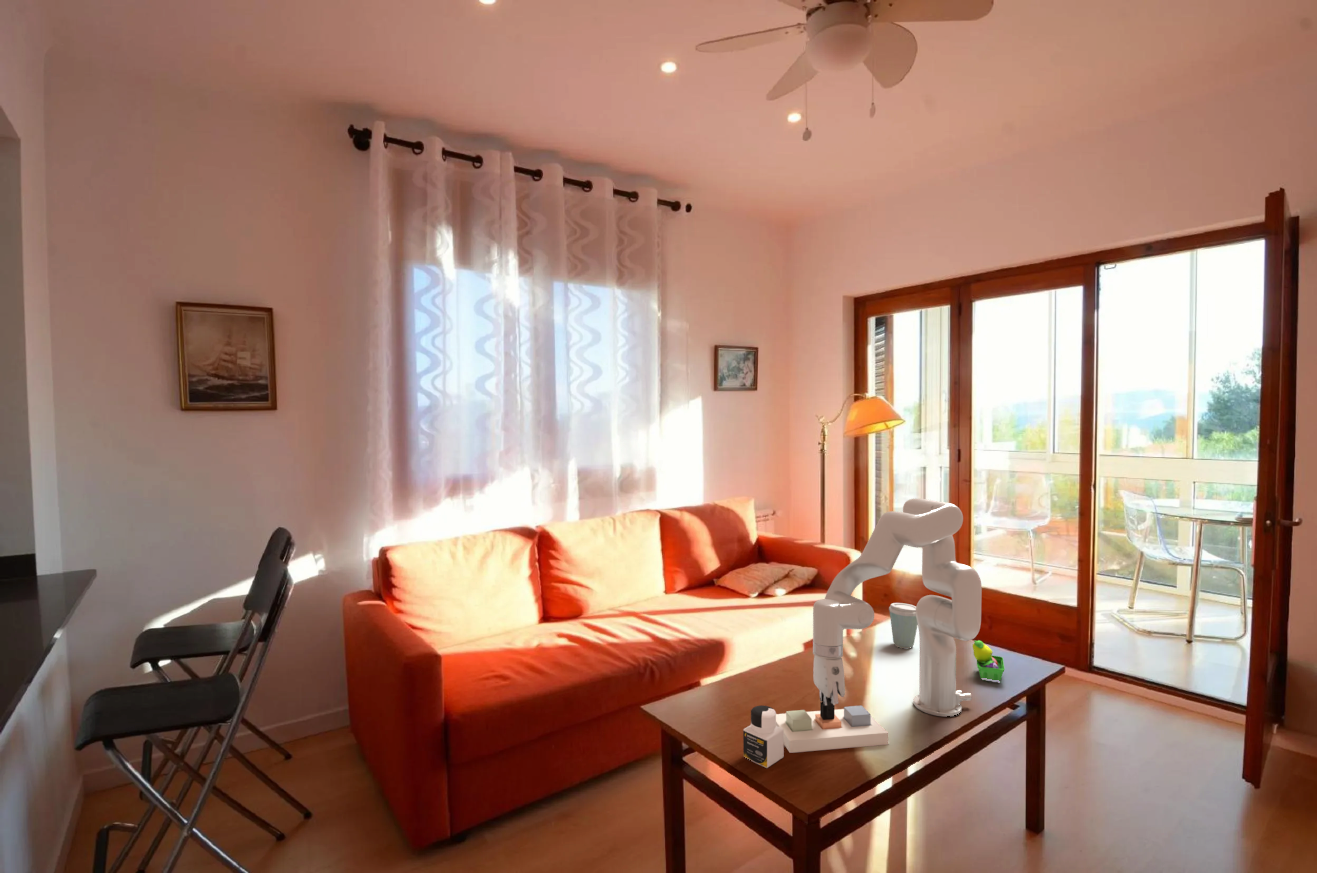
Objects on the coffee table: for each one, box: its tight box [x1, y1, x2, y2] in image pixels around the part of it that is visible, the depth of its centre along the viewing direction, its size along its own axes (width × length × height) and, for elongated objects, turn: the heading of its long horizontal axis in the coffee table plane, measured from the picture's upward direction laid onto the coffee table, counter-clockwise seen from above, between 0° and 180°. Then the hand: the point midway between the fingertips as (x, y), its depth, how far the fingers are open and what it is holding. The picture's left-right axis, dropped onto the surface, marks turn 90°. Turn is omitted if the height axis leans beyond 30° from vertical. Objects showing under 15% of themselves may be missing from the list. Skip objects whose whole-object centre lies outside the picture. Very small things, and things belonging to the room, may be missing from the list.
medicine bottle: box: [742, 705, 785, 769], centre depth 154 cm, size 7×7×12 cm
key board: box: [776, 708, 889, 754], centre depth 164 cm, size 26×14×3 cm, turn 98°
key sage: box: [785, 709, 812, 732], centre depth 163 cm, size 5×5×4 cm
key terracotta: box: [815, 714, 841, 729], centre depth 164 cm, size 5×5×4 cm
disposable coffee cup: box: [888, 602, 918, 649], centre depth 227 cm, size 11×11×15 cm
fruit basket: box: [972, 640, 1005, 682], centre depth 200 cm, size 11×9×11 cm
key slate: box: [843, 705, 872, 727], centre depth 165 cm, size 5×5×4 cm
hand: (827, 718), depth 164 cm, fingers closed
